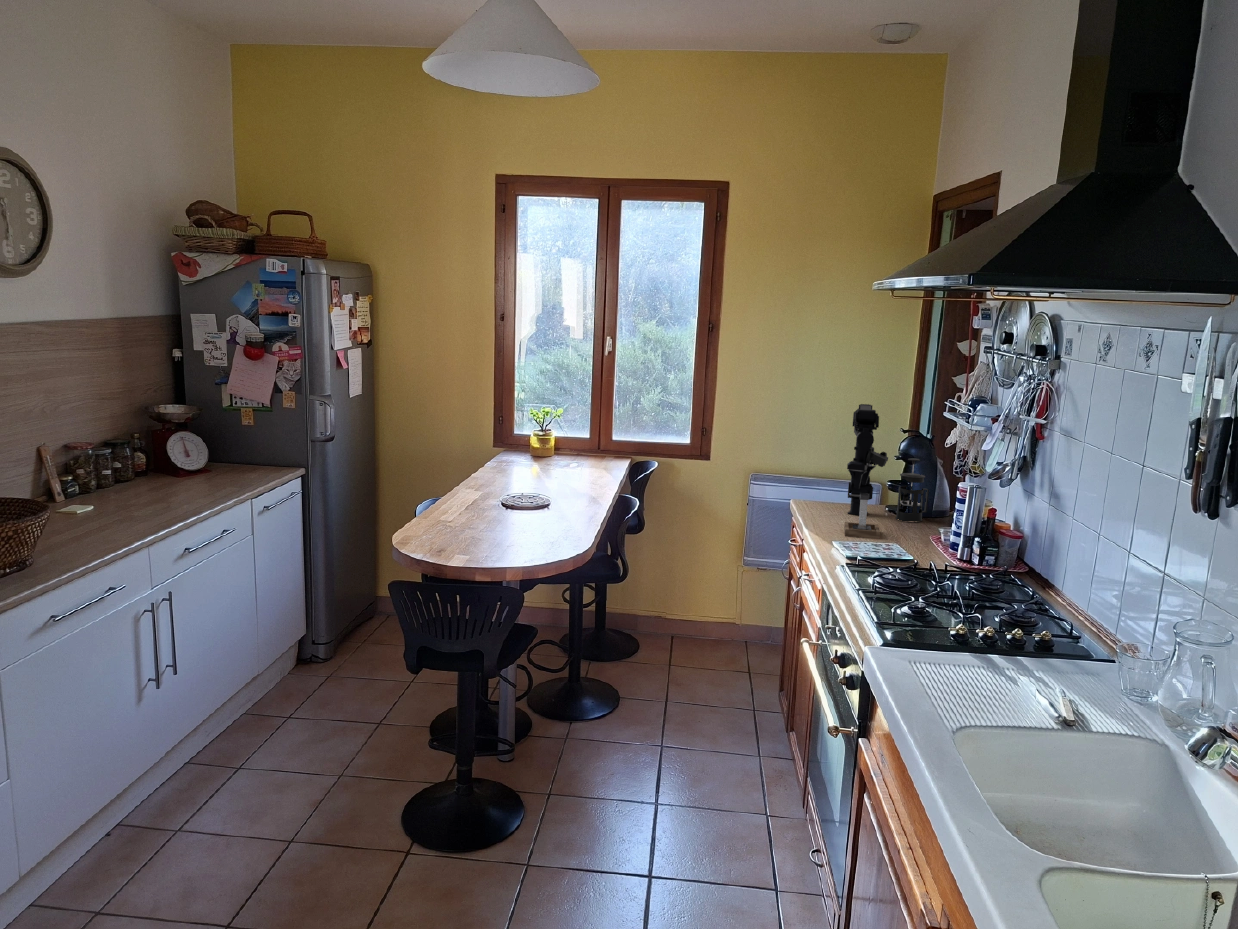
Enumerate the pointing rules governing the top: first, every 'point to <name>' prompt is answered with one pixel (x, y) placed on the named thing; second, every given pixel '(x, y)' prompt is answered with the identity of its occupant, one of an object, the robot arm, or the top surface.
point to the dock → (862, 531)
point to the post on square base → (863, 513)
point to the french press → (900, 512)
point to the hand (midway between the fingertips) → (860, 486)
